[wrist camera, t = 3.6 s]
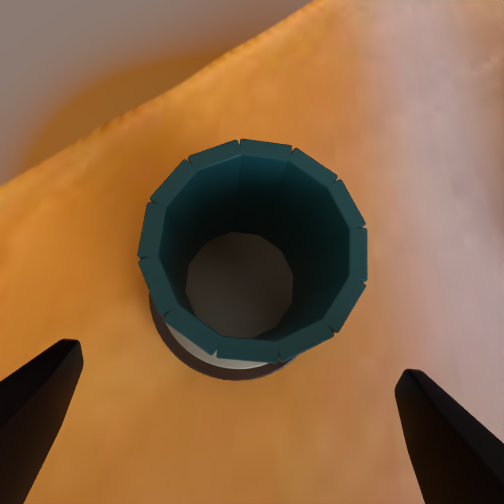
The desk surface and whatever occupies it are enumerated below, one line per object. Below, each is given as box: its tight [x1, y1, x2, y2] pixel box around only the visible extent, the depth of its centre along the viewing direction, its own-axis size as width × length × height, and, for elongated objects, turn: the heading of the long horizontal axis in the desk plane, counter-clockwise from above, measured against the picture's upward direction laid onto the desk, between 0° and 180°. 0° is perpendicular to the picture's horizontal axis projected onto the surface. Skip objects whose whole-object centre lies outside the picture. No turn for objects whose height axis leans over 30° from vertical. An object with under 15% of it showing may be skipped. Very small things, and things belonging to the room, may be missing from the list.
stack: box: [149, 232, 298, 381], centre depth 19 cm, size 10×10×3 cm
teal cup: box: [137, 139, 367, 364], centre depth 14 cm, size 7×7×8 cm
